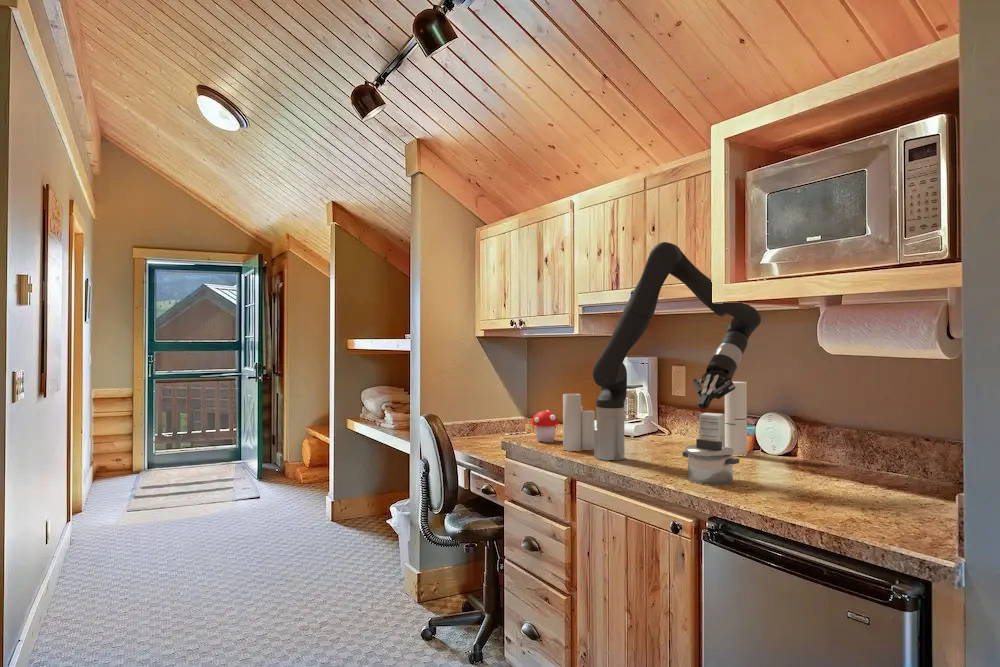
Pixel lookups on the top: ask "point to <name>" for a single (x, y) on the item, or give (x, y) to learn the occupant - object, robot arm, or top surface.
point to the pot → (710, 469)
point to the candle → (577, 424)
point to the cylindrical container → (736, 419)
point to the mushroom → (545, 425)
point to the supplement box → (712, 427)
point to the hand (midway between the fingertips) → (701, 407)
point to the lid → (708, 448)
